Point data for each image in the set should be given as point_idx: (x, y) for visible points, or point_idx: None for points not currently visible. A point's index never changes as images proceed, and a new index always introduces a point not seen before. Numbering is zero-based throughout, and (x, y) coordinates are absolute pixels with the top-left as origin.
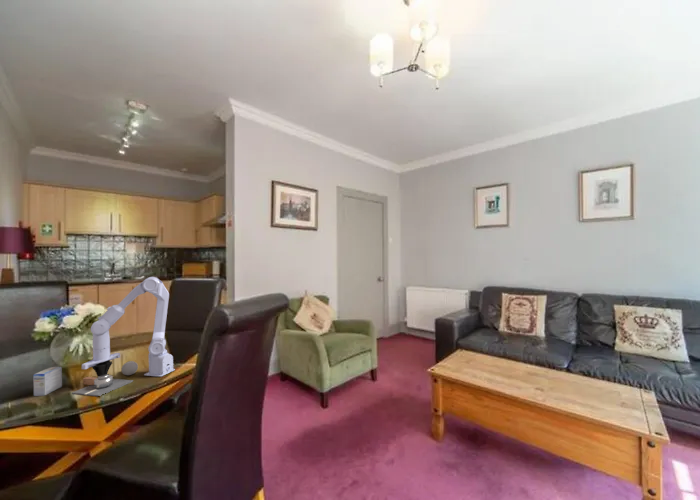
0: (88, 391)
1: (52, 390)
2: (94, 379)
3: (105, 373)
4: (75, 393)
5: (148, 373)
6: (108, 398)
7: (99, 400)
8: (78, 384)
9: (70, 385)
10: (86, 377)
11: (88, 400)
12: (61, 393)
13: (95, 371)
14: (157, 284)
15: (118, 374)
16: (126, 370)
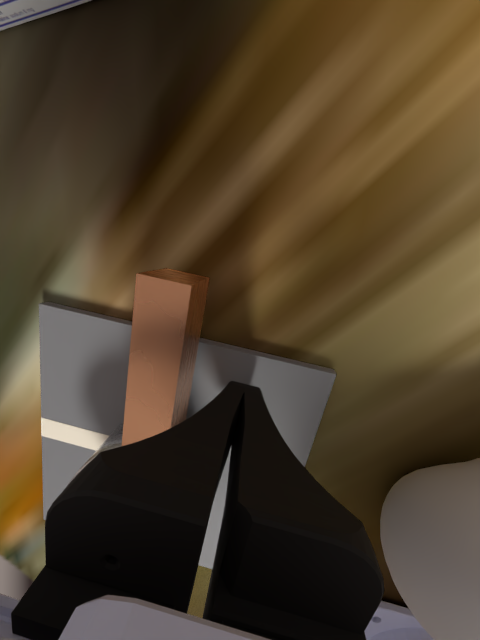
0: (75, 416)
1: (33, 10)
2: (123, 435)
3: (227, 490)
4: (43, 336)
5: (389, 627)
6: (44, 564)
7: (18, 537)
8: (227, 151)
9: (202, 67)
10: (168, 291)
11: (4, 486)
12: (37, 187)
13: (176, 427)
14: None
15: (465, 381)
16: (388, 562)
